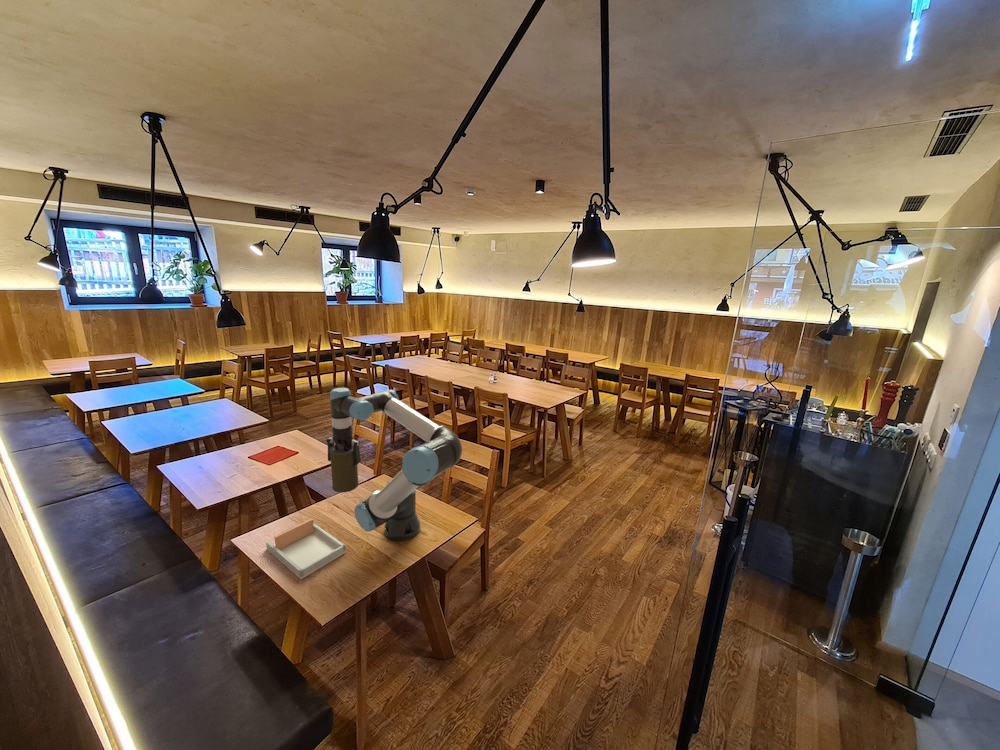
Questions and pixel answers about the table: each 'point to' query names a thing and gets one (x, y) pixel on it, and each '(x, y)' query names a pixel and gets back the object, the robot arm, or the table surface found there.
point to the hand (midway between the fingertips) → (345, 477)
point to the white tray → (308, 552)
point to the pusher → (294, 534)
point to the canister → (343, 469)
